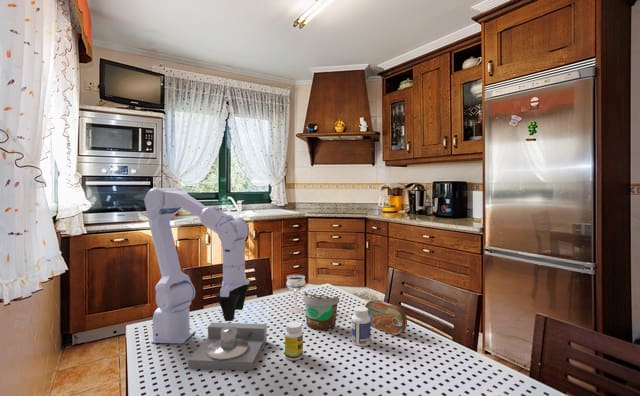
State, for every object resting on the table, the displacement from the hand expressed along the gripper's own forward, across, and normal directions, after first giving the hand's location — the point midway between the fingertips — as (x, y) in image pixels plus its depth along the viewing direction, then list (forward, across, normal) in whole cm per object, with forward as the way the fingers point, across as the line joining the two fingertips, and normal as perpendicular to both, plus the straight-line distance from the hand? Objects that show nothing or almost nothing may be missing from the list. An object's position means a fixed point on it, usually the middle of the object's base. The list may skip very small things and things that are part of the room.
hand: (234, 314), depth 88 cm
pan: (+8, -3, +1) cm, 9 cm away
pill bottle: (+10, +8, -34) cm, 37 cm away
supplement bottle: (+10, -1, -16) cm, 19 cm away
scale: (+10, -2, 0) cm, 10 cm away
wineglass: (+10, +31, -12) cm, 34 cm away
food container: (+10, +17, -21) cm, 29 cm away
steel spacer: (+7, -4, 0) cm, 8 cm away
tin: (+10, +17, -42) cm, 47 cm away
